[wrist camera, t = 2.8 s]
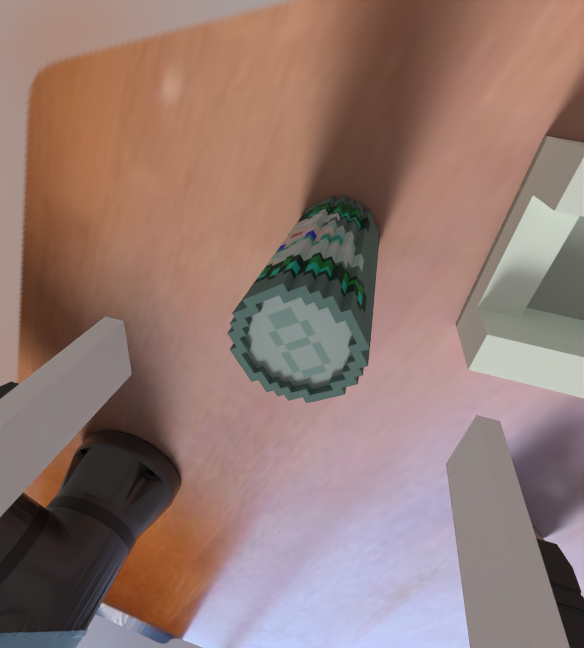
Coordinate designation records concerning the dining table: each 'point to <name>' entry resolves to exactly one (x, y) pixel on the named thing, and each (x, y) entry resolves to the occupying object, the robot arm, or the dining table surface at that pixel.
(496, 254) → the socket block
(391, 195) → the dining table surface
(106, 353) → the robot arm
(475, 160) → the dining table surface
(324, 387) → the can
